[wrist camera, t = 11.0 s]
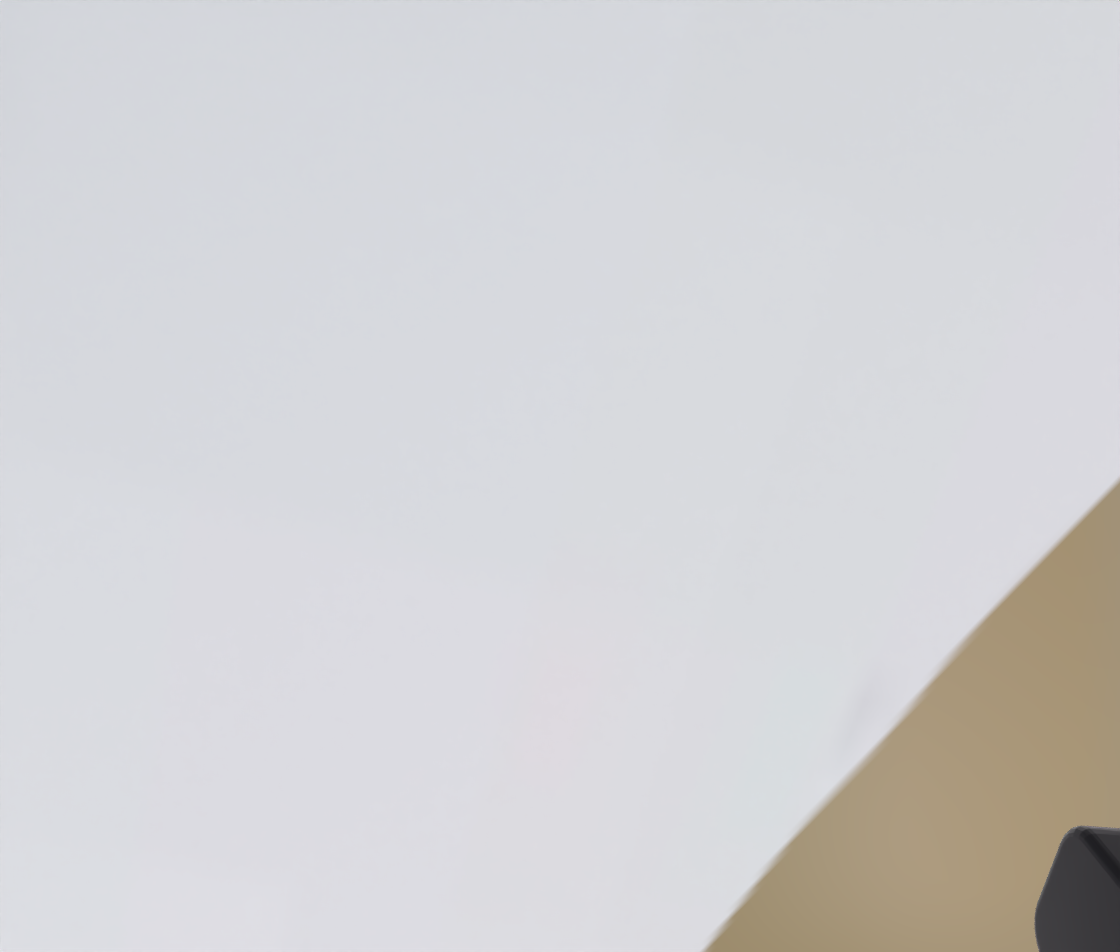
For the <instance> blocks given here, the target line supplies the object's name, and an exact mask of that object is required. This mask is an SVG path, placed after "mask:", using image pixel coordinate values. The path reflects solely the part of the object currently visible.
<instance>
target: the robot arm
mask: <svg viewBox="0 0 1120 952" xmlns="http://www.w3.org/2000/svg"><path fill="white" fill-rule="evenodd" d="M1035 934H1036V940H1037V945H1038V949H1039V952H1120V828H1107V827H1094V826H1093V827H1092V826H1077V827H1073V828H1072V829H1070V830H1069V831H1068V832H1067V833H1066V834H1065V835H1064V837H1063V839H1062V841H1061V843H1060V846H1059V849H1058V851H1057V854H1056V856H1055V859H1054V861H1053V864H1052V867H1051V869H1050V872H1049V874H1048V877H1047V879H1046V882H1045V885H1044V887H1043V890H1042V892H1041V895H1040V898H1039V900H1038V903H1037V907H1036V912H1035Z"/></svg>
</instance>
